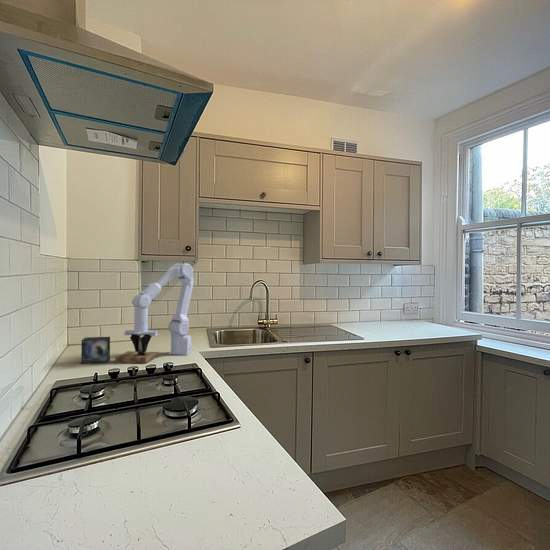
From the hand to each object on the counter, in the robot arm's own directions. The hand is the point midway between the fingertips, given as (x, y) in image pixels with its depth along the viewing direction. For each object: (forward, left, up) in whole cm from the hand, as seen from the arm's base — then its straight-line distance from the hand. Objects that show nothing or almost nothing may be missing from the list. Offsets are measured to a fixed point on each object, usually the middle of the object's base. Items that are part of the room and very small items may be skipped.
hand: (140, 351), depth 157 cm
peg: (0, 0, -3) cm, 3 cm away
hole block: (+2, 0, -4) cm, 4 cm away
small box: (+18, +5, -4) cm, 19 cm away
